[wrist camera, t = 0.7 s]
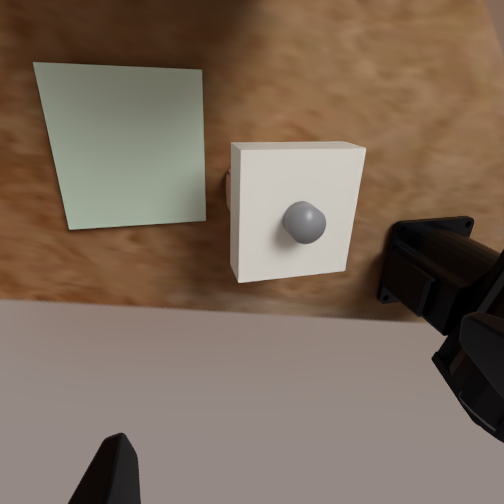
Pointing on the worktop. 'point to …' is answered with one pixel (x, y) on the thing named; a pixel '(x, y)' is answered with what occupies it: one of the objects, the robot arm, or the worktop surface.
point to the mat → (125, 142)
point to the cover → (292, 207)
